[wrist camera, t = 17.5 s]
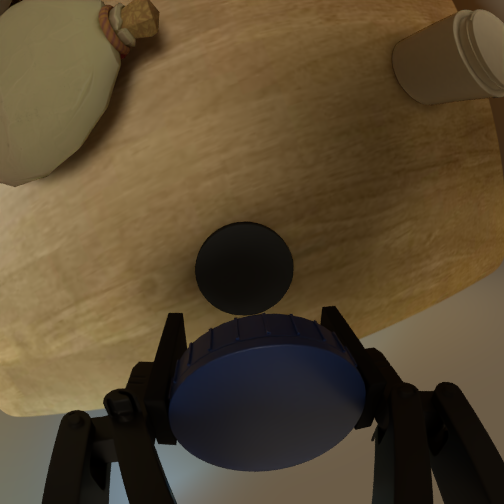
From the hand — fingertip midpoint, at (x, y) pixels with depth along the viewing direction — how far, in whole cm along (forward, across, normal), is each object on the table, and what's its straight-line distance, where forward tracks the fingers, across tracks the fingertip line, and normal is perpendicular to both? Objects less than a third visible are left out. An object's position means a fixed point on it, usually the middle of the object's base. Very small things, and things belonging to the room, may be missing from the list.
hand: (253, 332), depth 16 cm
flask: (+10, -14, +17) cm, 24 cm away
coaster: (+10, 0, 0) cm, 10 cm away
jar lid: (-6, 0, 0) cm, 6 cm away
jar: (+10, +17, +19) cm, 27 cm away
